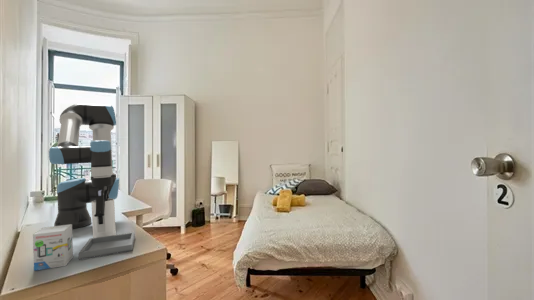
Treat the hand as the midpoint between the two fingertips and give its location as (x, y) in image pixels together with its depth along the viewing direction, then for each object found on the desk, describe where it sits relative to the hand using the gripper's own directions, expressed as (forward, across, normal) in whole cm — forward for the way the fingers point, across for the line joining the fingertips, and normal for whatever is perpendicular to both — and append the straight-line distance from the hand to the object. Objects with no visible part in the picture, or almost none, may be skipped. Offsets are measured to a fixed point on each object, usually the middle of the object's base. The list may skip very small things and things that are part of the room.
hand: (104, 227), depth 112 cm
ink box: (+5, +22, -11) cm, 25 cm away
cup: (+4, 0, 0) cm, 4 cm away
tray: (+4, +15, +4) cm, 16 cm away
